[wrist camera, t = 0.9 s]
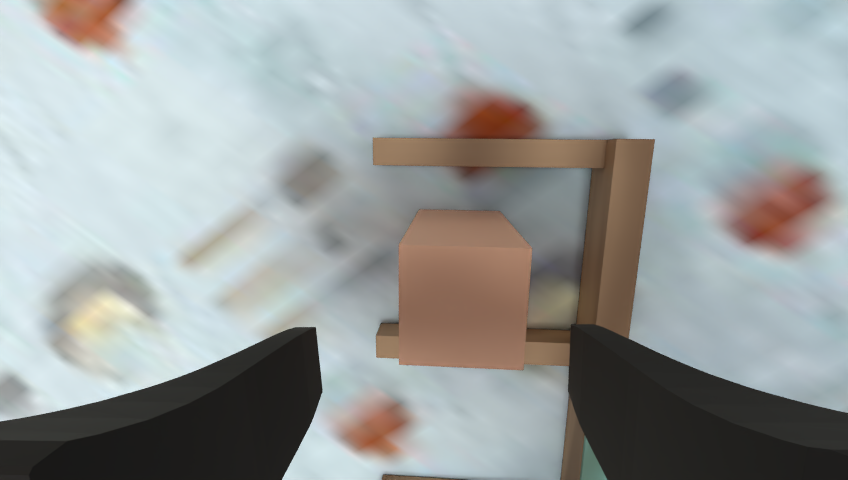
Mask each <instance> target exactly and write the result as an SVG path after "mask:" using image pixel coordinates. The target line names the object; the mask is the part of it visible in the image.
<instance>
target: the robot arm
mask: <svg viewBox="0 0 848 480" xmlns="http://www.w3.org/2000/svg"><path fill="white" fill-rule="evenodd" d="M568 392H569V395H570V398H571V401H572V404H573V408H574V410H575V413H576V416H577V419H578V422H579V424H580V426H581V428H582V431H583V433H584V435H585V437H586V439H587V441H588V443H589V445H590V447H591V449H592V451H593V453H594V455H595V457H596V459H597V460H598V462H599V464H600V466H601V468H602V470H603V472H604V474H605V476H606V478H607V480H848V413H845V412H840V411H835V410H831V409H827V408H823V407H818V406H814V405H810V404H806V403H802V402H798V401H795V400H791V399H787V398H784V397H780V396H776V395H773V394H769V393H765V392H762V391H759V390H755V389H752V388H749V387H746V386H743V385H740V384H737V383H734V382H731V381H728V380H725V379H722V378H719V377H716V376H713V375H711V374H708V373H705V372H703V371H700V370H698V369H695V368H693V367H690V366H688V365H685V364H683V363H681V362H678V361H676V360H673V359H671V358H669V357H667V356H664V355H662V354H660V353H658V352H655V351H653V350H651V349H649V348H647V347H645V346H643V345H640V344H638V343H636V342H634V341H632V340H630V339H628V338H626V337H624V336H622V335H619V334H617V333H615V332H613V331H611V330H608V329H606V328H604V327H601V326H598V325H595V324H571V332H570V358H569V384H568ZM321 394H322V382H321V372H320V363H319V354H318V344H317V335H316V327H295V328H292V329H288V330H286V331H283V332H281V333H278V334H276V335H274V336H272V337H269V338H267V339H265V340H263V341H261V342H259V343H257V344H255V345H253V346H250V347H248V348H246V349H244V350H242V351H240V352H238V353H236V354H233V355H231V356H229V357H226V358H224V359H222V360H220V361H217V362H215V363H213V364H211V365H208V366H206V367H204V368H201V369H199V370H196V371H194V372H191V373H189V374H186V375H183V376H181V377H178V378H175V379H172V380H169V381H167V382H164V383H161V384H158V385H155V386H152V387H149V388H145V389H142V390H138V391H135V392H131V393H128V394H124V395H121V396H117V397H114V398H110V399H107V400H103V401H99V402H95V403H91V404H87V405H83V406H78V407H74V408H70V409H65V410H60V411H56V412H51V413H46V414H41V415H36V416H31V417H26V418H20V419H13V420H7V421H1V422H0V480H282V478H283V476H284V474H285V472H286V471H287V469H288V467H289V465H290V463H291V461H292V459H293V457H294V455H295V453H296V452H297V450H298V448H299V446H300V444H301V442H302V440H303V438H304V436H305V434H306V432H307V430H308V428H309V426H310V424H311V422H312V420H313V417H314V414H315V412H316V409H317V406H318V403H319V400H320V397H321Z"/></svg>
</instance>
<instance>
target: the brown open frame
mask: <svg viewBox="0 0 848 480" xmlns="http://www.w3.org/2000/svg"><path fill="white" fill-rule="evenodd" d="M654 142H655V139H613V140H553V139H444V138H373V165H408V166H481V167H555V168H592V175H591V184H590V194H589V204H588V214H587V224H586V234H585V244H584V254H583V264H582V274H581V284H580V293H579V303H578V313H577V323H576V324H595V325H598V326H601V327H604V328H606V329H608V330H611V331H613V332H615V333H617V334H619V335H622V336H624V337H626V338H629V331H630V323H631V316H632V308H633V301H634V293H635V285H636V278H637V270H638V263H639V255H640V248H641V240H642V233H643V225H644V217H645V210H646V202H647V195H648V187H649V180H650V172H651V165H652V157H653V149H654ZM570 332H571V330H545V329H526V341H525V355H524V364H534V365H556V366H569V358H570ZM376 357H377V358H399V324H391V323H381V325H380V327H379V330H378V332H377V334H376ZM382 480H459V479H443V478H427V477H412V476H396V475H383V477H382ZM561 480H607V478H606V476H605V474H604V472H603V470H602V468H601V466H600V464H599V462H598V460H597V459H596V457H595V455H594V453H593V451H592V449H591V447H590V445H589V443H588V441H587V439H586V437H585V435H584V433H583V431H582V428H581V426H580V424H579V422H578V419H577V416H576V413H575V410H574V408H573V404H572V401H571V398H570V395H569V402H568V412H567V422H566V432H565V442H564V452H563V462H562V472H561Z"/></svg>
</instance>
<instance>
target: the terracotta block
mask: <svg viewBox="0 0 848 480" xmlns="http://www.w3.org/2000/svg"><path fill="white" fill-rule="evenodd" d="M531 258H532V248H531V246H530V245H529V244H528V243H527V242H526V241H525V240H524V238H523V237H522V236H521V235H520V234H519V233H518V232H517V230H516V229H515V228H514V227H513V226H512V225H511V223H510V222H509V221H508V220H507V219H506V218H505V217H504V215H503V214H502V213H501V212H500V211H476V210H428V209H419V211H418V212H417V214H416V216H415V218H414V219H413V221H412V223H411V225H410V226H409V228H408V230H407V231H406V233H405V235H404V237H403V238H402V240H401V242H400V244H399V365H420V366H441V367H463V368H485V369H507V370H523V369H524V355H525V341H526V328H527V314H528V300H529V286H530V272H531Z"/></svg>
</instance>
